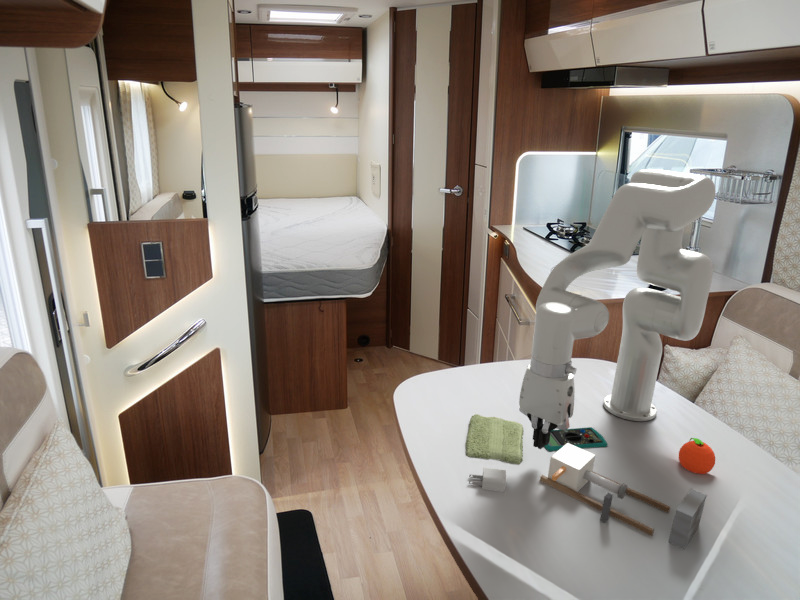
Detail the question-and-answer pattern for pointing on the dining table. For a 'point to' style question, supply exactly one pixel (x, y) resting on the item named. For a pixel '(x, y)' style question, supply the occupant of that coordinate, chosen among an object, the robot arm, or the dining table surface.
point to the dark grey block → (606, 507)
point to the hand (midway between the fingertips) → (540, 445)
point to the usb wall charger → (491, 479)
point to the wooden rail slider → (684, 516)
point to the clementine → (697, 456)
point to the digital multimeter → (575, 438)
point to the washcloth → (495, 439)
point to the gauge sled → (579, 470)
